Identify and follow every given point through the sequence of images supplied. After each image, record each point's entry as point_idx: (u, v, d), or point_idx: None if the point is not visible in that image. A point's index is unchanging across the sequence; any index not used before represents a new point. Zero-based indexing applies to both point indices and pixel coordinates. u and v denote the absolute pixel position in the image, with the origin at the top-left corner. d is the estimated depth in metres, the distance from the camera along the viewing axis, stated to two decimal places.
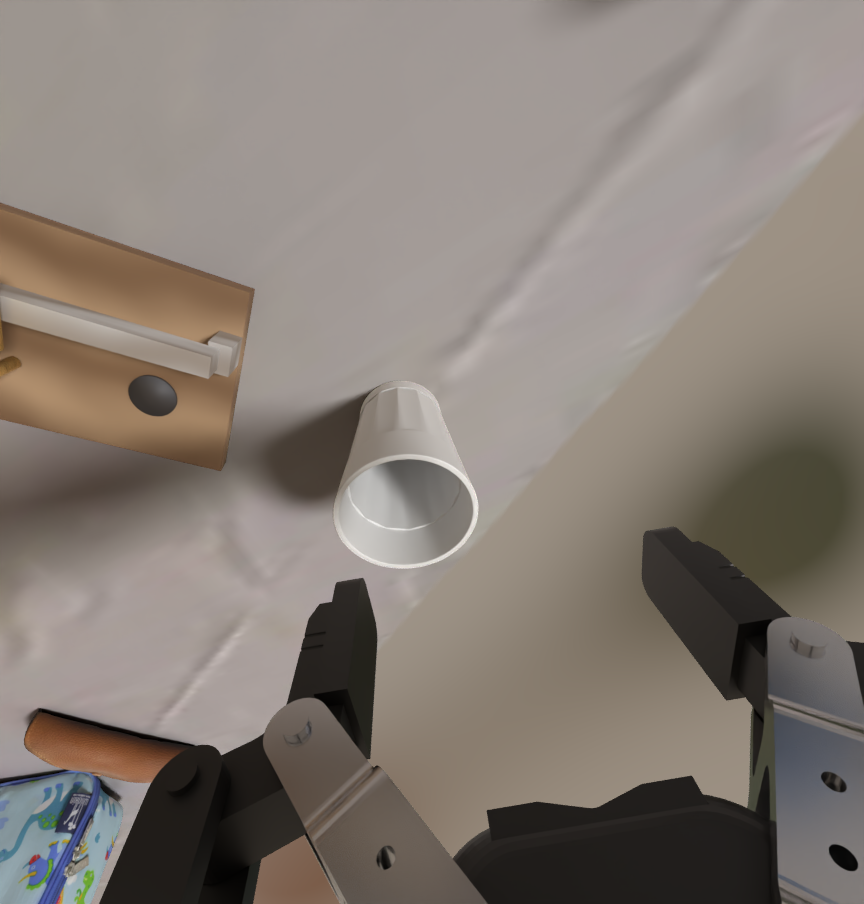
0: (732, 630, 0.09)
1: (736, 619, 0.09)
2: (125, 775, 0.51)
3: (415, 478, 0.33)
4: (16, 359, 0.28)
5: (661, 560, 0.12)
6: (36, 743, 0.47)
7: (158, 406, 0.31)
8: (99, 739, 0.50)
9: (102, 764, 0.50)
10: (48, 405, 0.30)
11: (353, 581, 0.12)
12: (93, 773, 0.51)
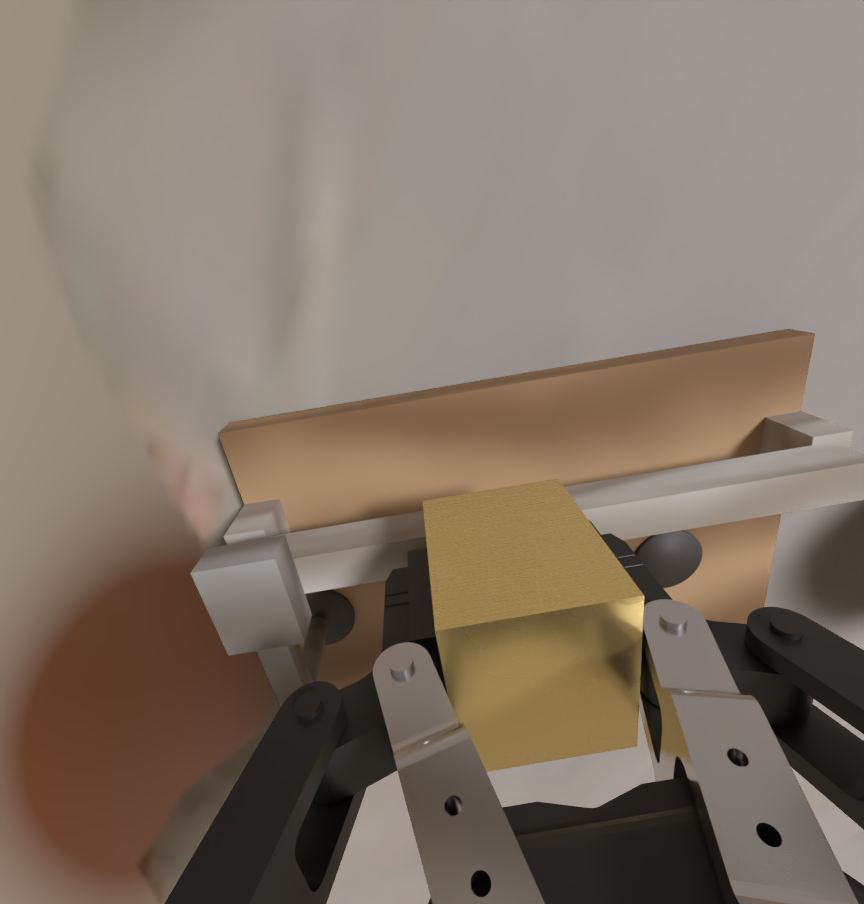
0: None
1: None
2: None
3: None
4: None
5: None
6: None
7: (677, 571, 0.20)
8: None
9: None
10: None
11: (424, 548, 0.13)
12: None
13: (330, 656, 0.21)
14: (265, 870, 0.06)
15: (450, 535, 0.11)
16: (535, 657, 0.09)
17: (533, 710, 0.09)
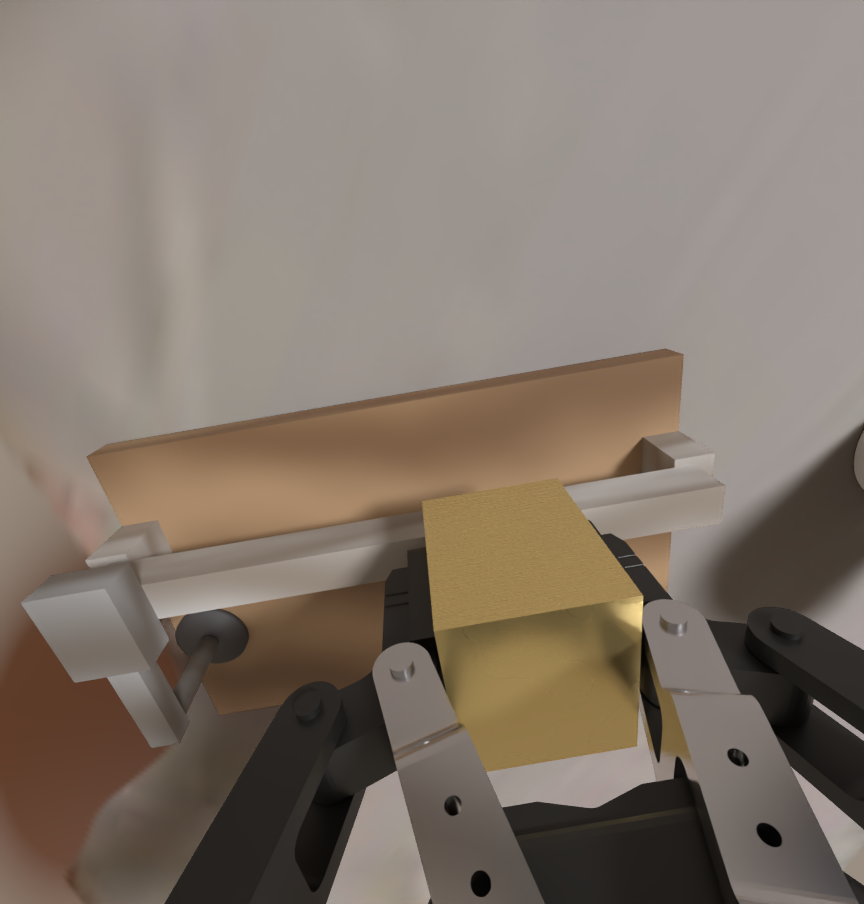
0: None
1: None
2: None
3: None
4: None
5: None
6: None
7: None
8: None
9: None
10: None
11: (423, 548, 0.13)
12: None
13: (228, 674, 0.21)
14: (265, 871, 0.06)
15: (449, 535, 0.11)
16: (534, 658, 0.09)
17: (532, 710, 0.09)
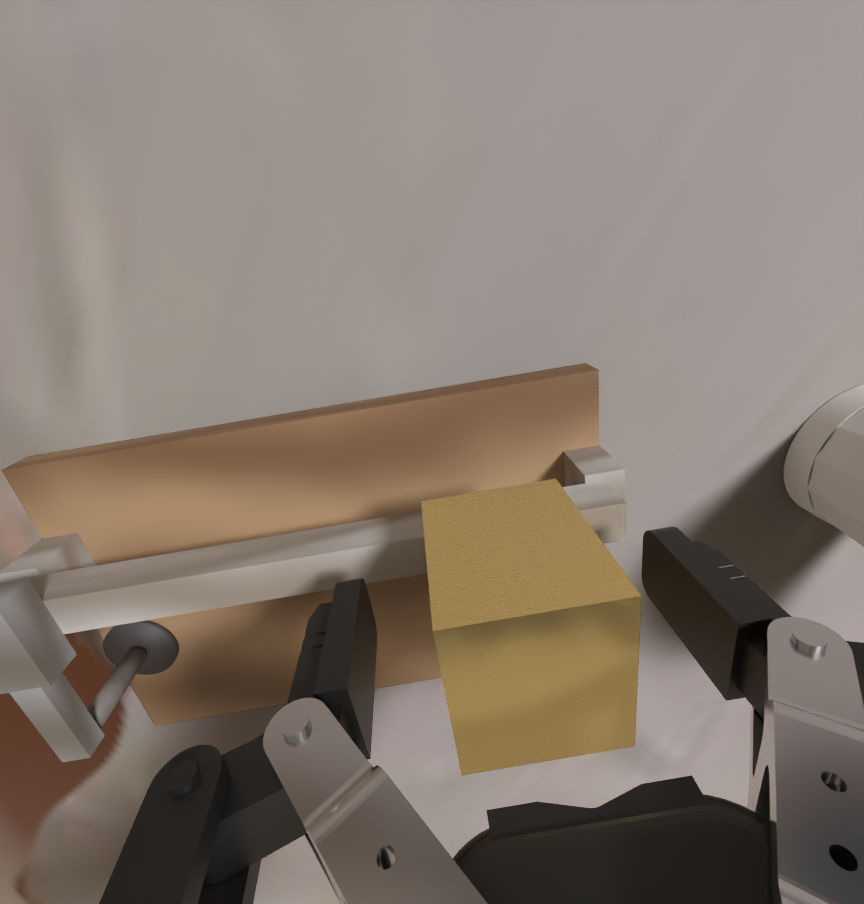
0: (732, 630, 0.09)
1: (736, 619, 0.09)
2: None
3: None
4: None
5: (661, 560, 0.12)
6: None
7: None
8: None
9: None
10: None
11: (353, 581, 0.12)
12: None
13: (161, 685, 0.21)
14: None
15: (448, 535, 0.11)
16: (532, 657, 0.09)
17: (531, 710, 0.09)
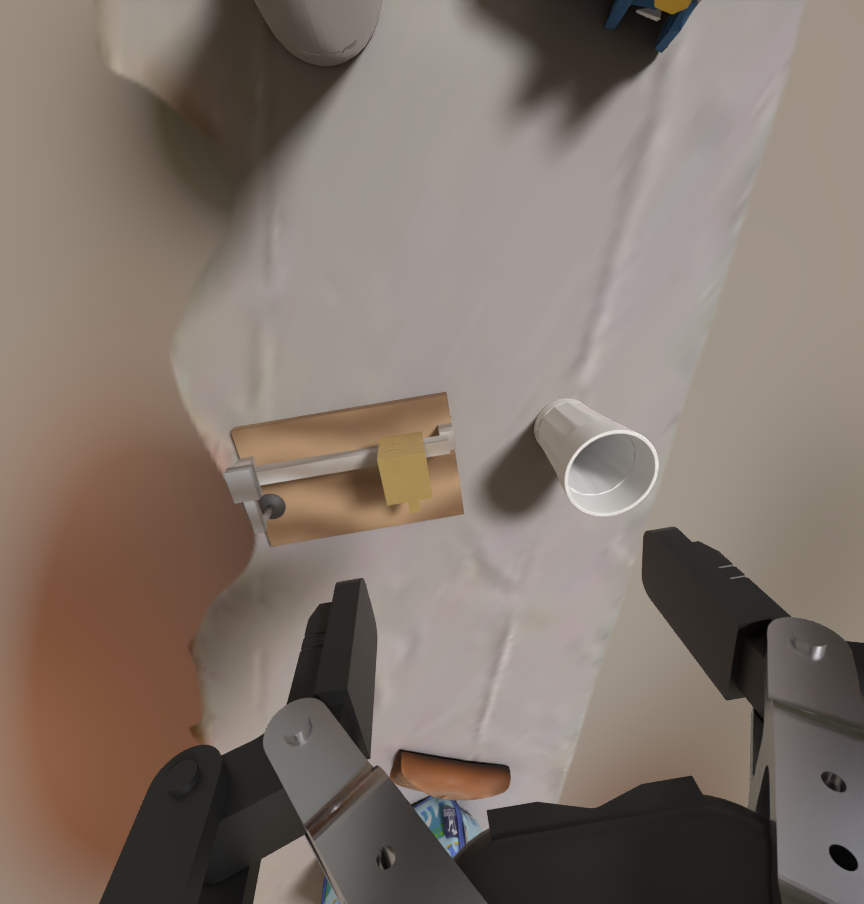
0: (732, 630, 0.09)
1: (736, 619, 0.09)
2: (468, 793, 0.66)
3: (595, 459, 0.45)
4: None
5: (661, 560, 0.12)
6: (409, 774, 0.64)
7: None
8: (445, 766, 0.66)
9: (452, 786, 0.65)
10: (359, 515, 0.49)
11: (353, 581, 0.12)
12: (443, 796, 0.67)
13: (276, 525, 0.49)
14: None
15: (385, 445, 0.39)
16: (401, 468, 0.37)
17: (403, 484, 0.38)
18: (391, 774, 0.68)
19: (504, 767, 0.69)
